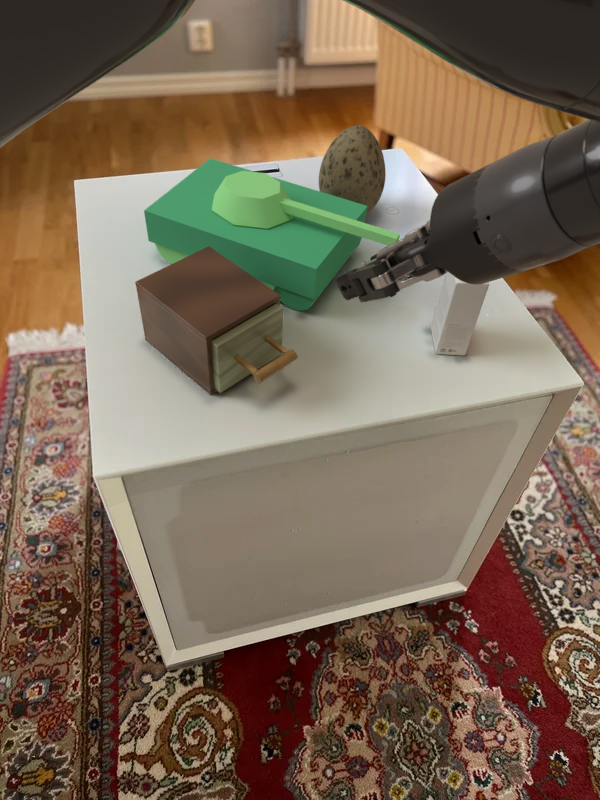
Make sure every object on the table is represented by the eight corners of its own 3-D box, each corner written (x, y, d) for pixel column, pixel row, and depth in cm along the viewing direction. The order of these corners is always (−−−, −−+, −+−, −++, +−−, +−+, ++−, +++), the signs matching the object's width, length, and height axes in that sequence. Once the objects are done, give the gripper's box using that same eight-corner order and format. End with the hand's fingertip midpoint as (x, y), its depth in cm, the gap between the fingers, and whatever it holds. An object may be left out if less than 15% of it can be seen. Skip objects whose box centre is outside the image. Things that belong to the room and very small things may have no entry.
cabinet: (278, 352, 84) (280, 294, 77) (210, 395, 79) (206, 337, 72) (212, 303, 91) (208, 245, 83) (145, 339, 85) (134, 281, 78)
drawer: (308, 374, 81) (312, 327, 75) (247, 415, 76) (246, 369, 70) (219, 307, 89) (217, 261, 83) (158, 341, 83) (151, 294, 78)
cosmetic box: (466, 356, 86) (490, 285, 77) (434, 354, 86) (455, 283, 77) (459, 326, 90) (481, 255, 81) (429, 325, 90) (448, 253, 81)
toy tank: (375, 263, 78) (140, 186, 88) (363, 337, 87) (151, 260, 97) (422, 197, 89) (208, 135, 98) (407, 269, 98) (213, 206, 108)
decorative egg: (390, 211, 109) (405, 125, 98) (359, 239, 103) (371, 151, 92) (337, 191, 113) (346, 105, 102) (303, 217, 107) (309, 129, 96)
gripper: (550, 130, 45) (391, 211, 60) (429, 198, 38) (282, 271, 52) (589, 227, 47) (425, 283, 61) (480, 309, 40) (323, 351, 54)
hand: (360, 277), depth 57 cm, fingers open, 4 cm apart
